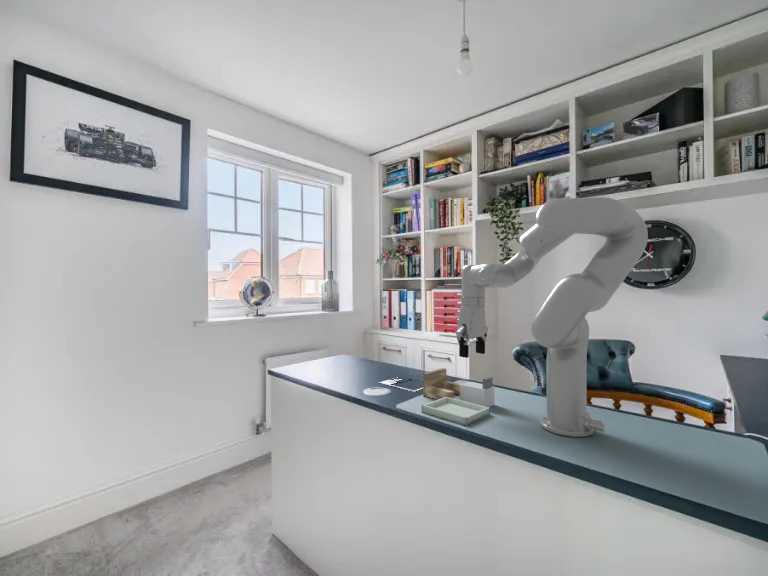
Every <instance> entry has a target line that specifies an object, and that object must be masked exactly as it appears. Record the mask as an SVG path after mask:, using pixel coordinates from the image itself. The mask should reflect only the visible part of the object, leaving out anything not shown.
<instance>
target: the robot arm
mask: <svg viewBox="0 0 768 576" xmlns="http://www.w3.org/2000/svg"><path fill="white" fill-rule="evenodd" d="M535 215H536V216H535V224H534V225H532V226H531V227H530V228H528V230H526V231H525V232H523V234H521V235H520V237H519V239H518V240H519V245H520V247H519V248H520V249H519V250H518V252H516V254H515V255H514V256H512V257H511V258H510V259H509V260H508V261H506V262H505V263H493V262H489V263H482V264H466V265H463V266H462V267H461V292H460V293H461V297H460V298H461V299H460V300H461V301H460V302H461V303H460V304H461V305H460V308H459V314H458V321H457V330H456V331H455V334H456V339H457V343H458V345H459V346H458V350H459V351H458V356H459V357H461V358H469V357H470V354H469V353H470V345H469V342H470V339H476V340H475V353H477V354H482V355H485V354H486V341H487V336H488V330H489V329H488V326H487V325H486V310H485V308H486V288H492V289H494V288H501V289H502V288H509V287H511V286H513V285H515V284H517V283H518V282H520V281H522V279H524V278H525V277H526V276H528V275H529V274H531V272H532V271H533V270H534V269H535V268H536V266H537V265H538V264H539V263H540V260H541V259H543V257H545V256H546V255H548V254H549V253H551V251H552V250H554V249H556V248H557V247H558V246H560V245H561V244H562V243H564V242H565V241H567V240H568V239H569V238H571V237H572V236H573V235H576V234H580V235H596V236H601V237H604V238H605V242H604V244H603V245H602V247H600V248H599V250H598V251H597V252H596V253H595V254H594V255H593V257H592V258H591V260H590V261H589V263H588V264H587V266H586V267H585V268H584V270H583V271H581V273H580V272H579V273H572V274H569V275H567V276H565V277H563V278H562V279H561V280H559V282H558V283H557V284H556V285H555V286H554V288H553V289H552V290H551V291H550V293H549V295H548V297H547V298H545V301H544V302H543V304H542V305H541V307H540V308H539V310H538V311H537V312H536V314H535V315H534V318H533V321H532V322H531V333H532V334H531V335H532V337H533V339H534V340H535V342H536V343H537V344H539V346H542V347H544V348H547V352H546V371H545V372H546V373H545V374H546V416H544V417H542V418H541V419H540V426H541V427H542V428H543V429H545V430H546V431H548V432H551V433H554V434H557V435H561V436H566V437H575V438H576V437H577V438H582V437H583V438H584V437H590V436H592V435H593V434H594V431H595V430H596V431H599V432H603V433H604V432H605V431H606V423H603V421H602V420H598V419H593V417H591V412H588V409H587V407H588V406H587V405H588V402H587V399H588V398H587V371H588V370H587V364H588V363H587V360H588V359H587V357H588V356H587V355H588V346H589V345H588V344H589V338H590V326H589V322H588V320H587V318H586V316H588V313H593V312H596V311H599V310H601V309H604V308H605V306H606V305H607V304H608V303H609V301H610V300H611V298H612V297H613V295H614V294H615V293H616V291H617V290H618V289H619V287H620V286H621V285H622V284H623V282H624V281H625V279H626V278H627V276H628V275H629V274H630V272H631V271H632V269H633V268H634V267H635V265H636V264H637V262H639V260H640V258H641V257H642V256H643V254H644V251H645V249H646V247H647V244H648V239H649V237H648V236H649V233H648V226H647V224H646V222H645V221H644V219H643V218H642V216H641V215H640V213H639V212H637V210H635V209H634V208H633V207H631V206H630V205H628V204H625V203H624V202H621V201H619V200H617V199H614V198H611V197H603V196H602V197H601V196H600V197H597V196H595V197H570V198H569V197H566V198H563V197H562V198H561V197H560V198H553V199H549V200H548V201H546V202H544V203H543V204H542V205H540V207H539V208H538V210H537V212H536V214H535Z"/></svg>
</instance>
